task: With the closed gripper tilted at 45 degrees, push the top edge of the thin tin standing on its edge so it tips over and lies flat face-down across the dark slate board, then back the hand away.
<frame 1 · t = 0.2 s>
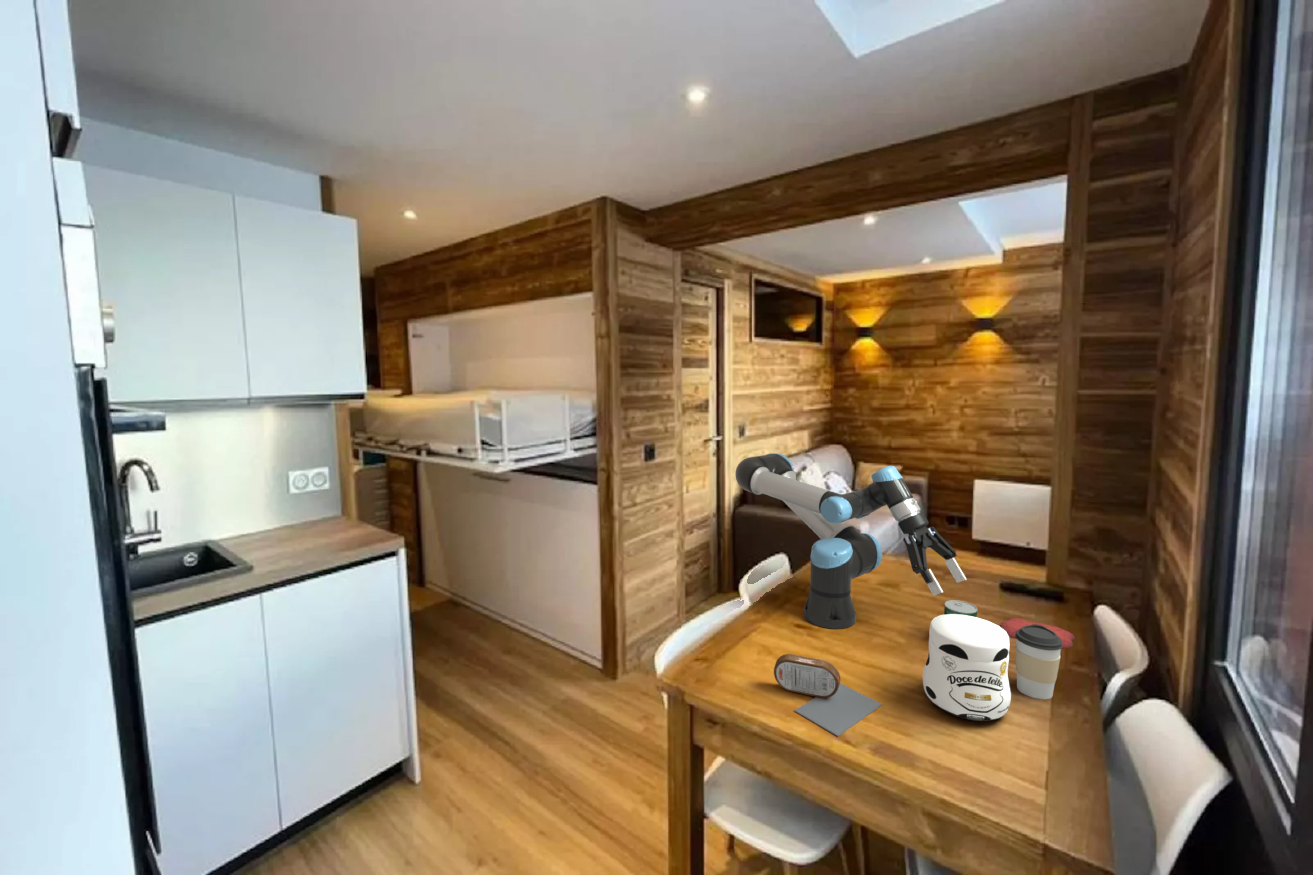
hand: (950, 587, 153), 15 cm above the table, tool tilted 35°, fingers open, 13 cm apart
coffee cup: (1034, 691, 131), on the table
doce de leite jar: (964, 705, 126), on the table
red flat irregular piece: (1035, 635, 158), on the table
slate board: (838, 708, 125), on the table
tin: (806, 693, 131), on the table, touching slate board
canned tomato: (958, 645, 153), on the table
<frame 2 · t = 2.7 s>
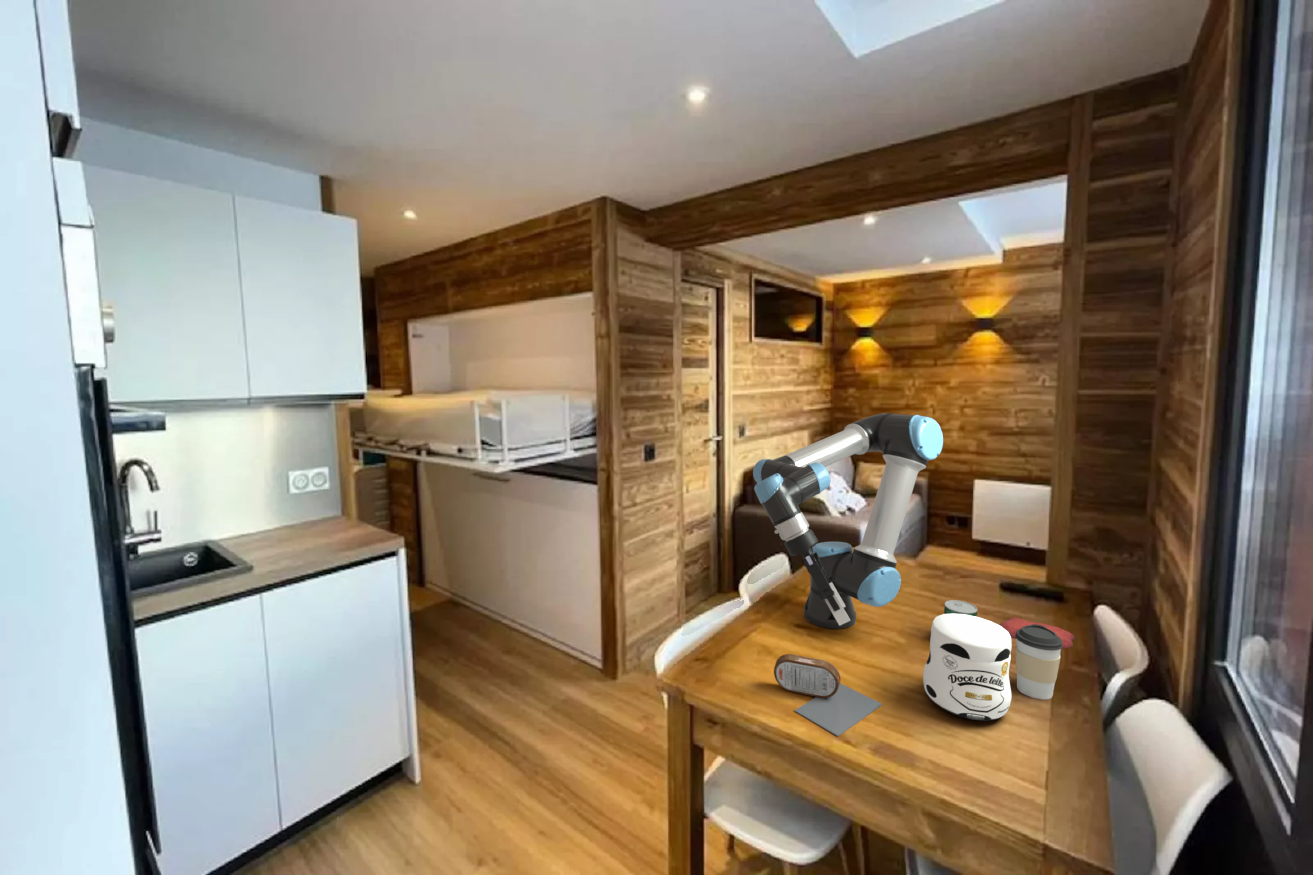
hand: (842, 615, 132), 17 cm above the table, tool tilted 35°, fingers open, 13 cm apart
nothing on the table moved.
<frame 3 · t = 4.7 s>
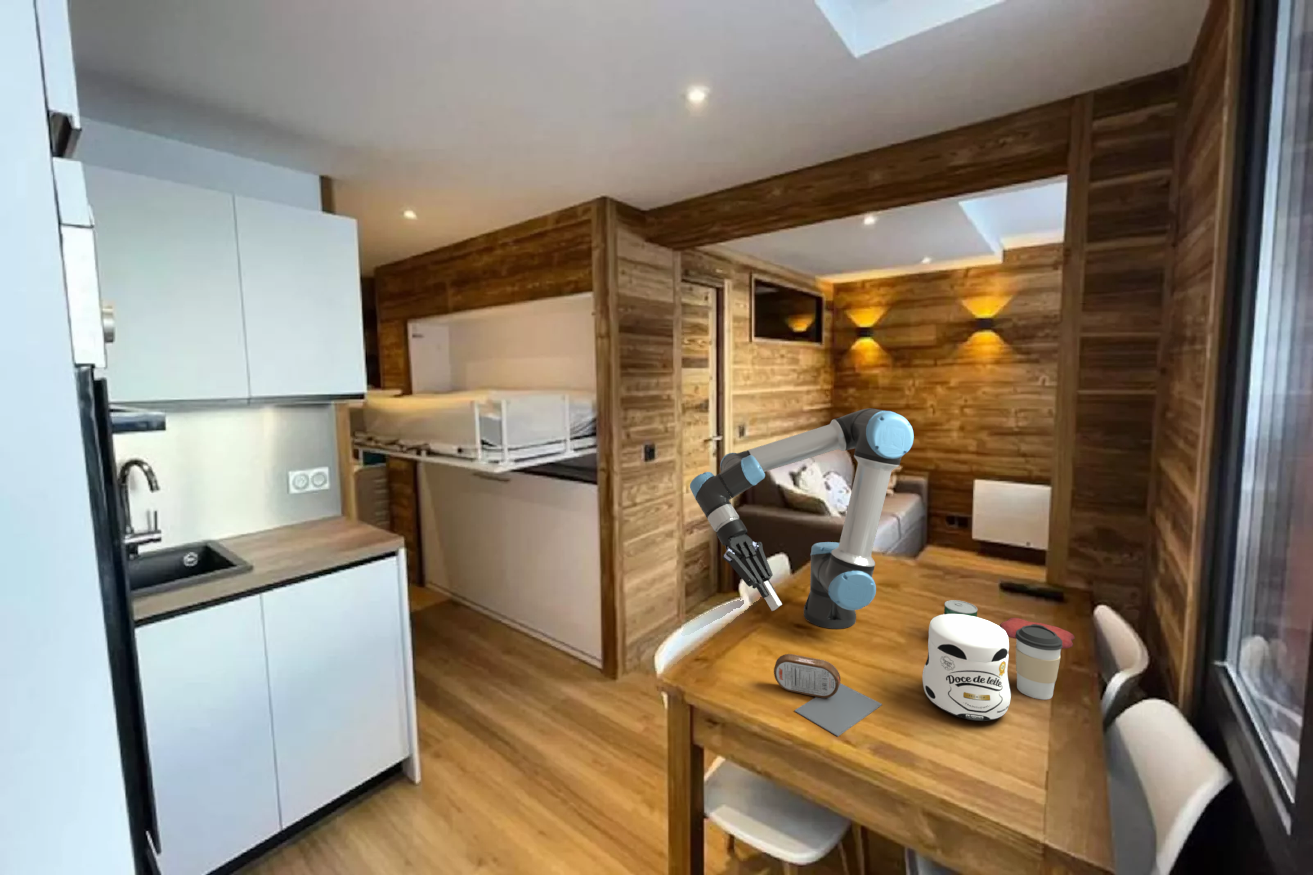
hand: (777, 607, 136), 18 cm above the table, tool tilted 45°, fingers closed
nothing on the table moved.
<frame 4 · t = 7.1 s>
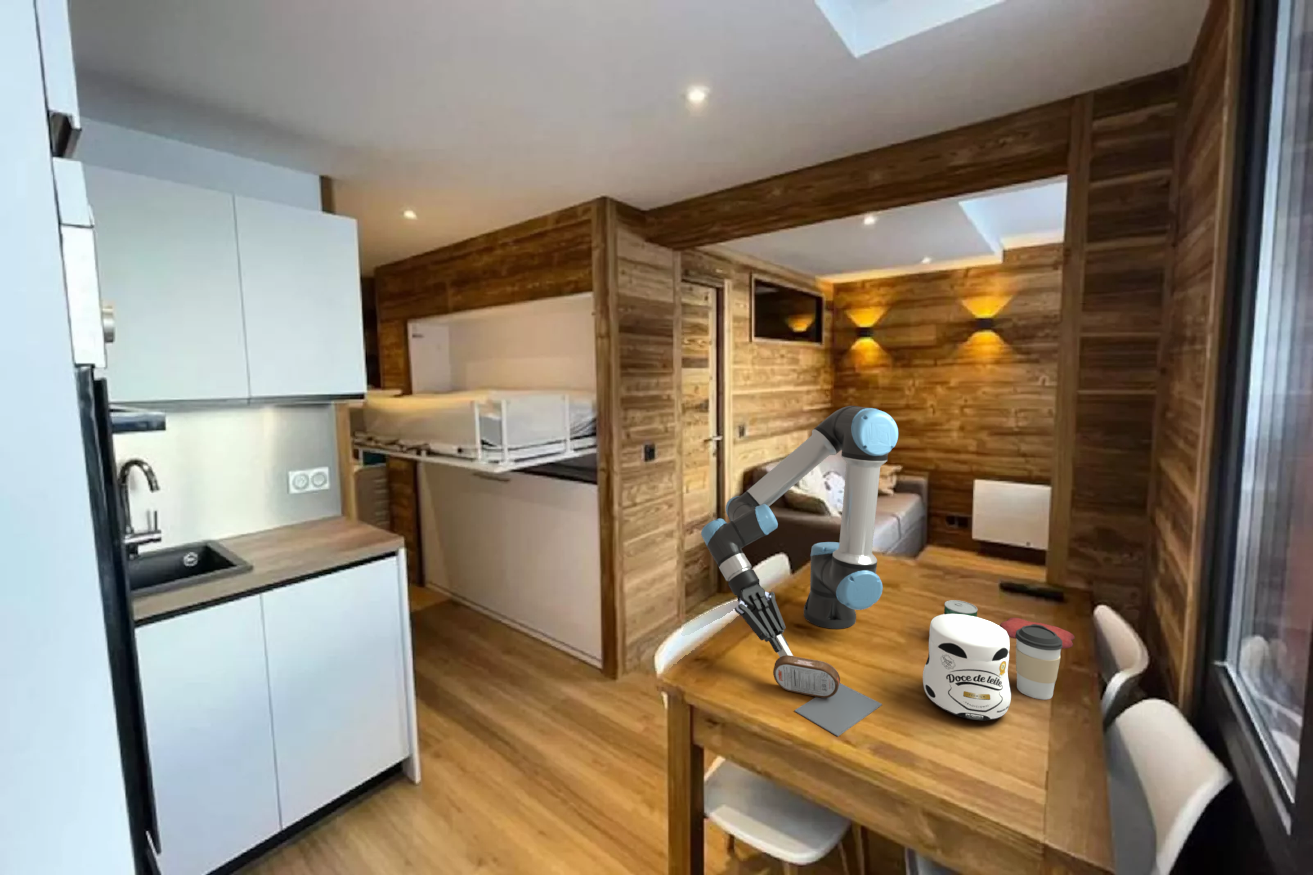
hand: (790, 662, 133), 6 cm above the table, tool tilted 45°, fingers closed
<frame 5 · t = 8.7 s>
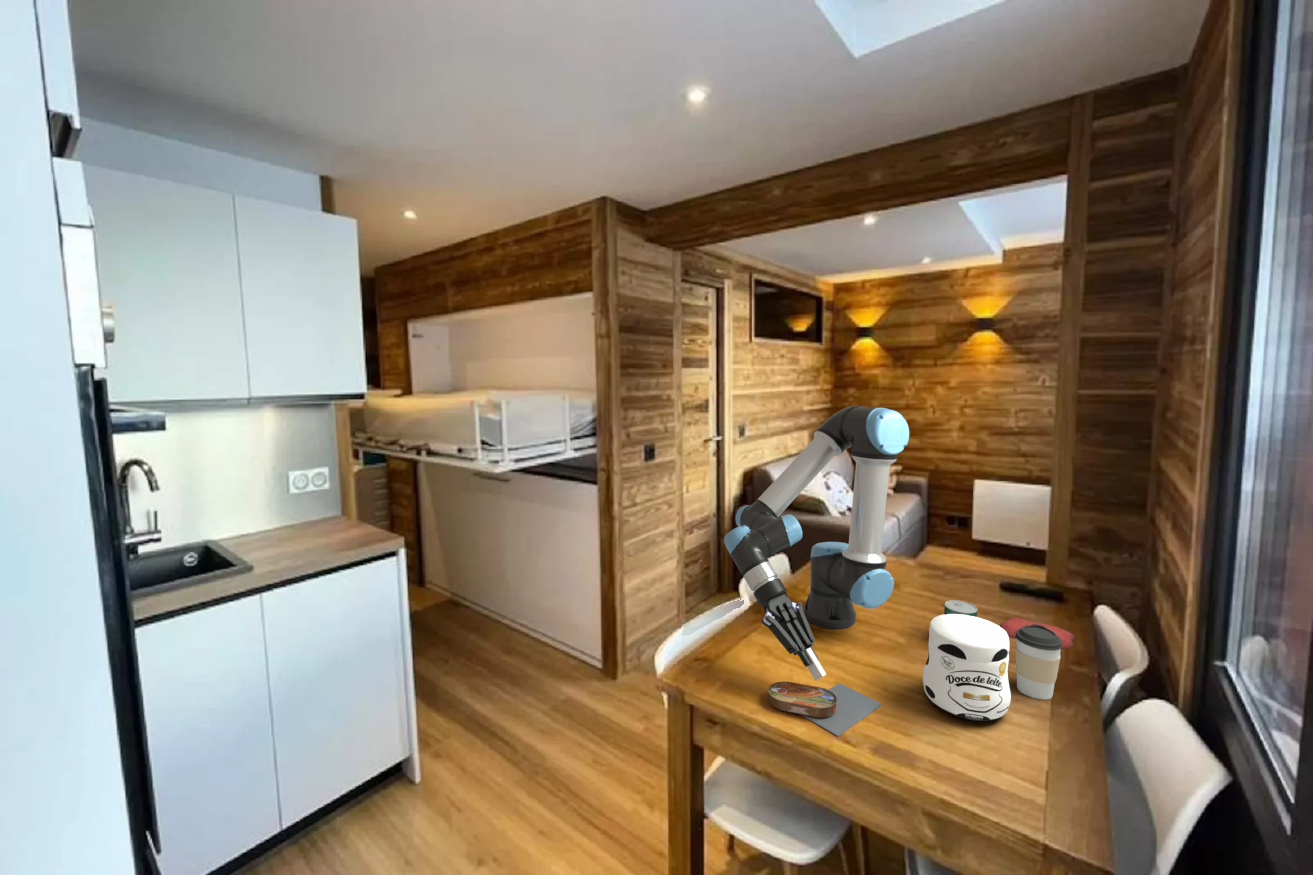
hand: (820, 677, 127), 6 cm above the table, tool tilted 45°, fingers closed
tin: (805, 690, 130), point 1 cm above the table, touching slate board
everything else where it was.
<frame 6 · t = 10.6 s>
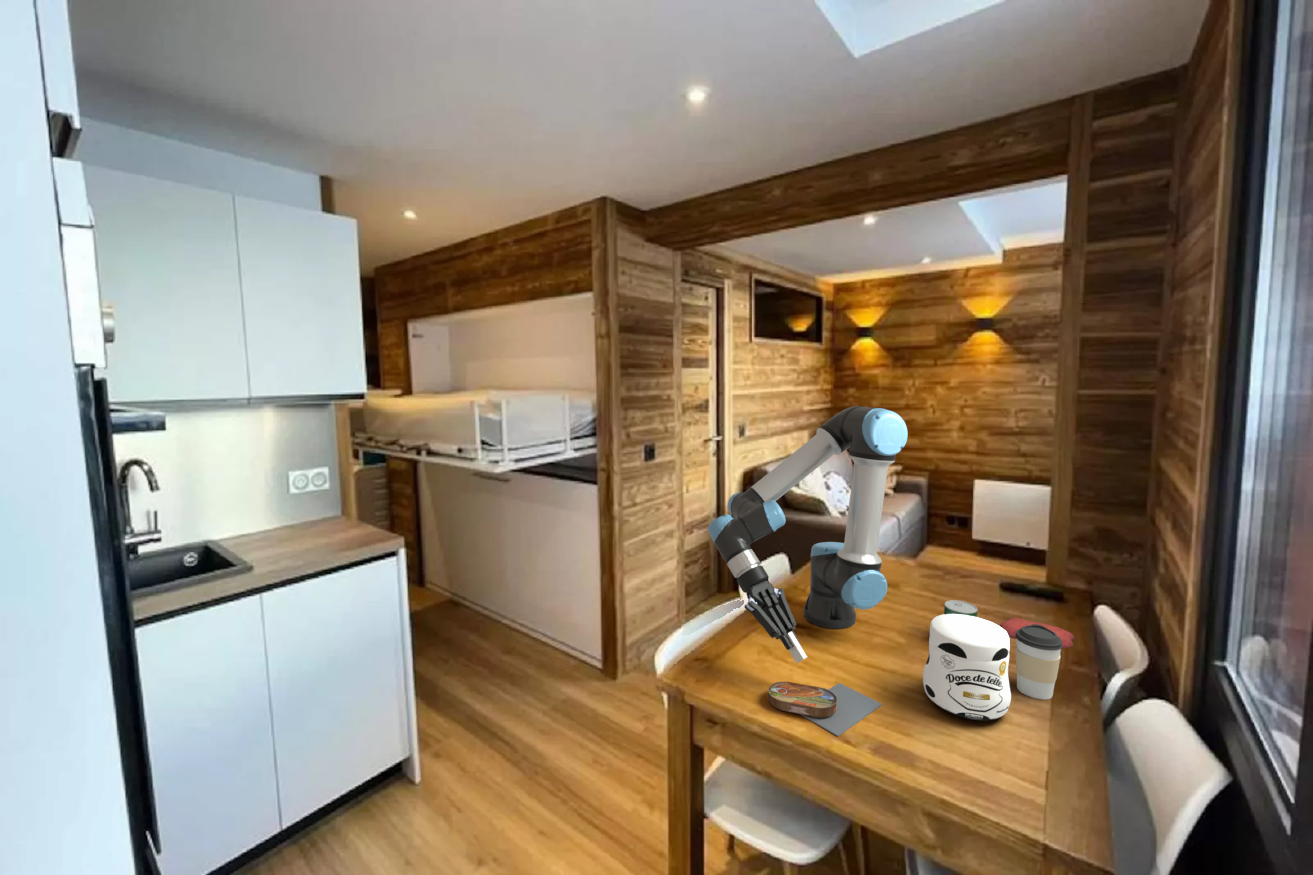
hand: (802, 660, 131), 8 cm above the table, tool tilted 45°, fingers closed
nothing on the table moved.
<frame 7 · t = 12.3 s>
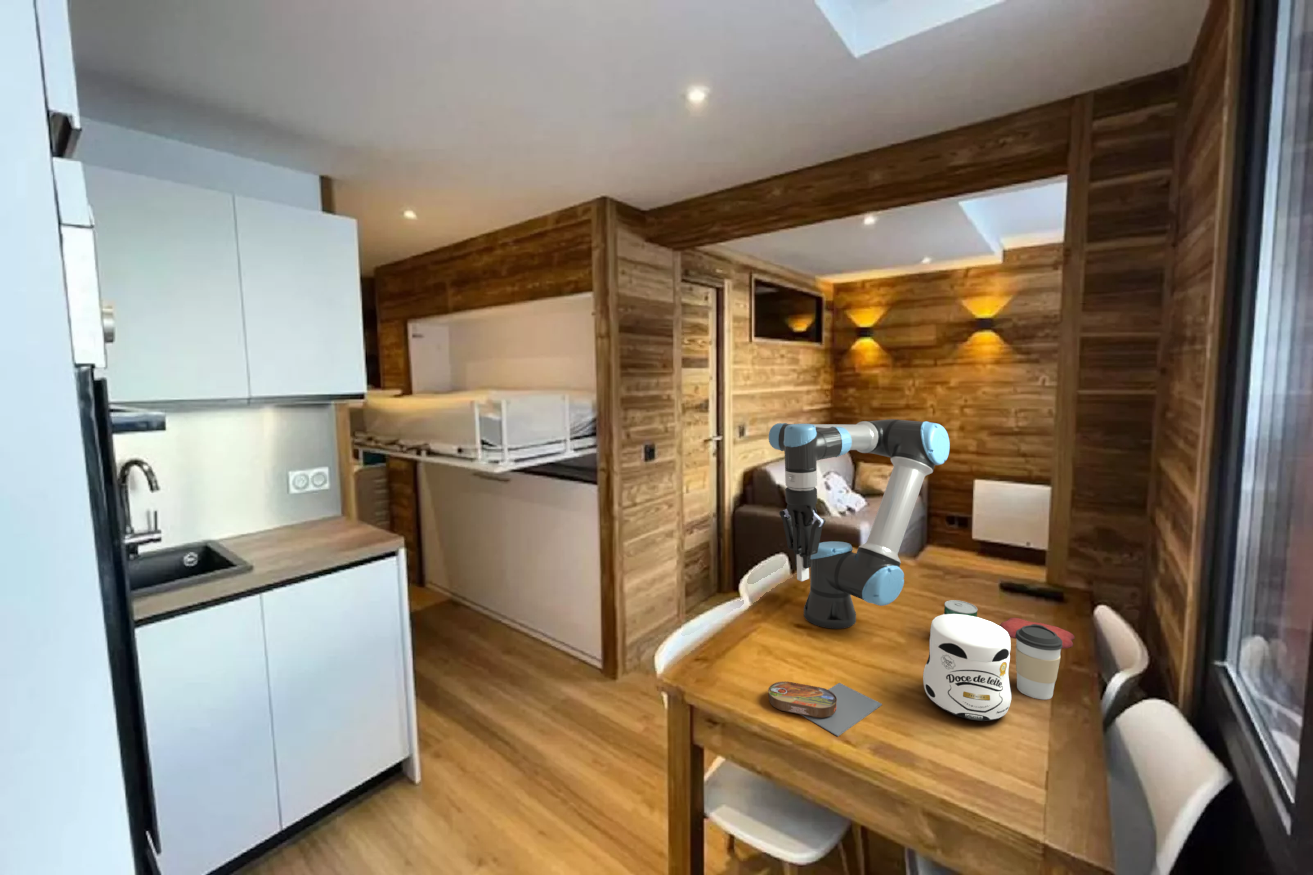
hand: (803, 579, 140), 23 cm above the table, tool pointing down, fingers closed
nothing on the table moved.
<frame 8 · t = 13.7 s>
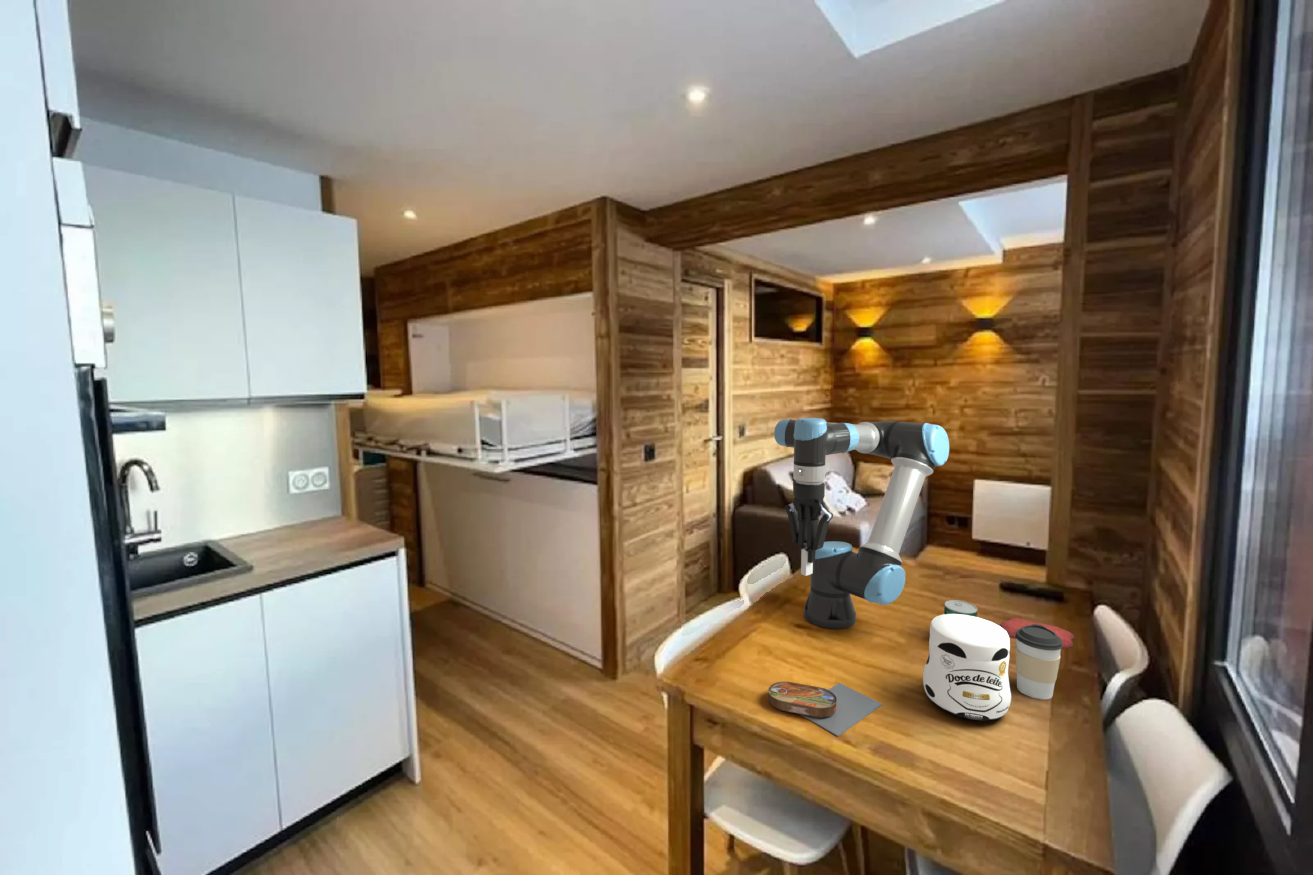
hand: (806, 573, 140), 24 cm above the table, tool pointing down, fingers closed
nothing on the table moved.
at the end: tin tilted 85°; tin inside the target area (4.8 cm from its centre), point 1.2 cm above the table; the gripper is holding nothing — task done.
